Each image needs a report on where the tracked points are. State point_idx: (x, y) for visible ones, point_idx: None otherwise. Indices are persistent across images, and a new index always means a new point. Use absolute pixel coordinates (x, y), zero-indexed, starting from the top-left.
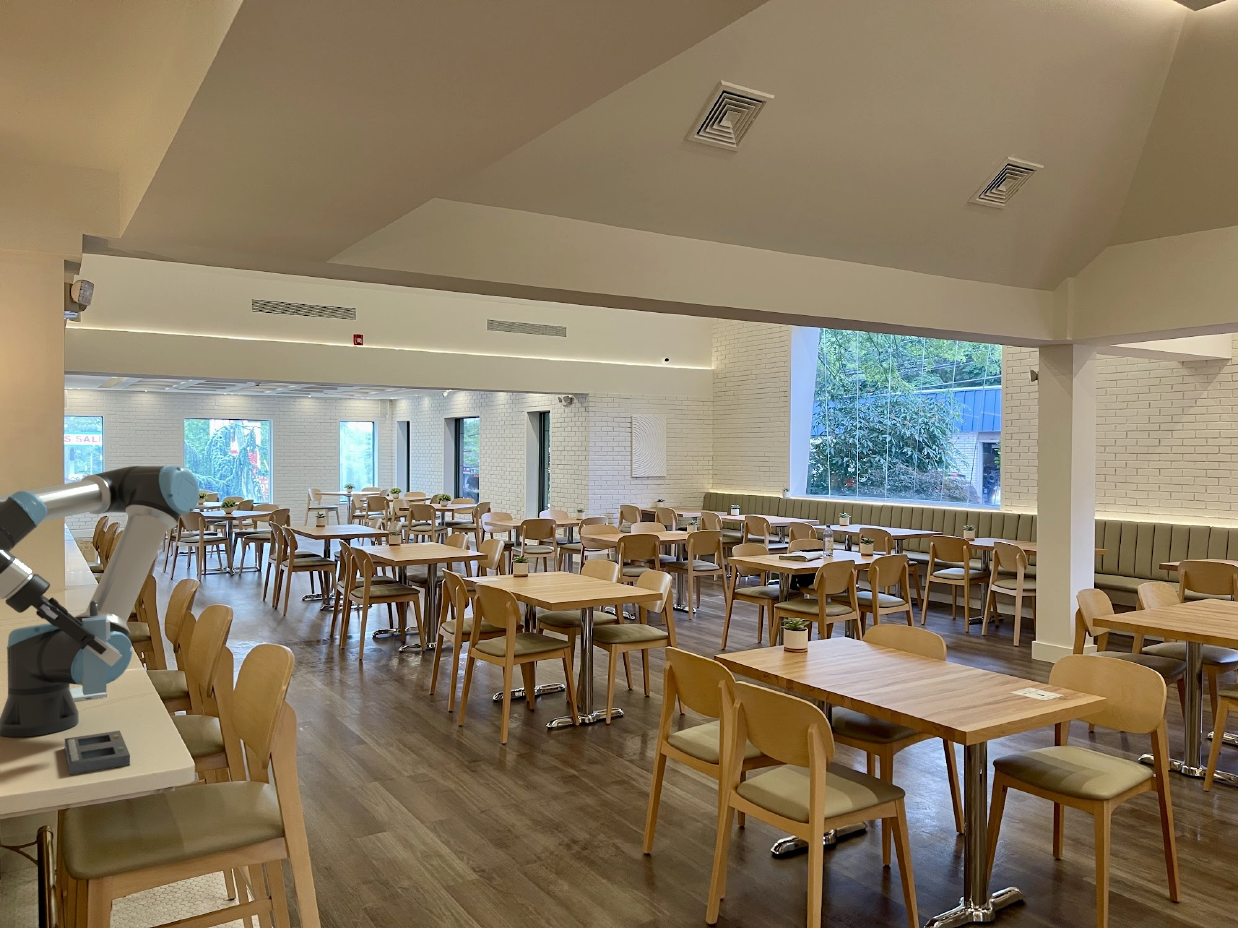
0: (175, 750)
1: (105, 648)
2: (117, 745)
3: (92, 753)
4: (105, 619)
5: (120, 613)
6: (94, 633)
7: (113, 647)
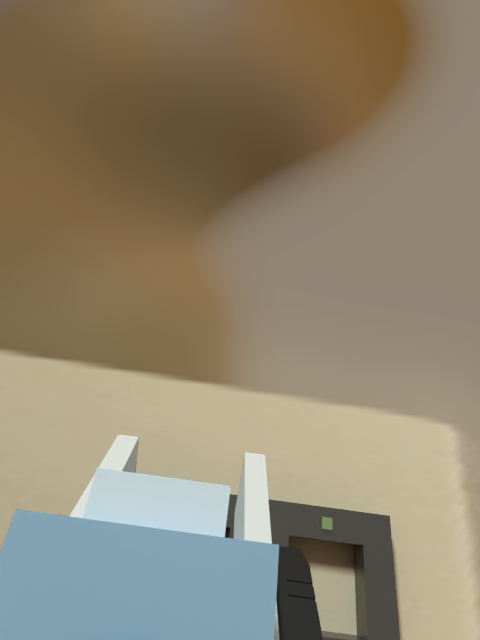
0: (318, 406)
1: (301, 557)
2: (282, 522)
3: None
4: (277, 549)
5: None
6: None
7: (123, 465)
